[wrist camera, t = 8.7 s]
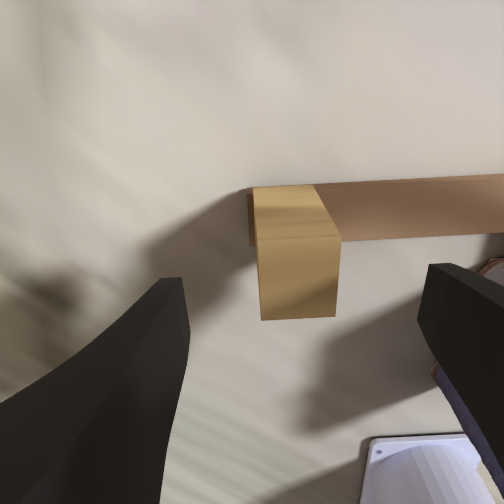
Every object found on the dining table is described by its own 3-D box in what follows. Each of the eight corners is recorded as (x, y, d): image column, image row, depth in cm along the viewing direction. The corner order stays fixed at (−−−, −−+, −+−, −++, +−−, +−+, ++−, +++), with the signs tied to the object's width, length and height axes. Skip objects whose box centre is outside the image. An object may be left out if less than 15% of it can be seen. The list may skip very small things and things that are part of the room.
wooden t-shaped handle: (510, 362, 21) (595, 458, 16) (257, 376, 21) (262, 475, 16) (592, 163, 16) (761, 213, 11) (246, 182, 16) (249, 241, 11)
